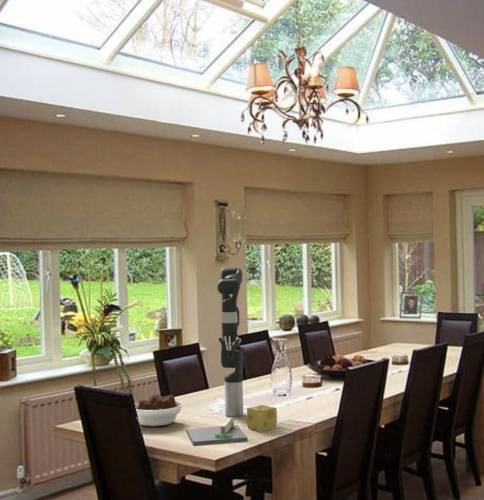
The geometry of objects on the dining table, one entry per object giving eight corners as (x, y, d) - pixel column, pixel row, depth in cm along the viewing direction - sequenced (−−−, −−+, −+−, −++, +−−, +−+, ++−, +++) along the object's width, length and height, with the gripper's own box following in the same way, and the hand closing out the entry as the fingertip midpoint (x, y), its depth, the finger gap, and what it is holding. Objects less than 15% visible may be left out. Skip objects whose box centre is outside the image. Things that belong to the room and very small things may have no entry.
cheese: (260, 432, 329) (259, 410, 329) (246, 428, 338) (245, 407, 338) (277, 428, 335) (277, 407, 335) (263, 424, 344) (262, 404, 344)
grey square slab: (186, 432, 334) (186, 425, 334) (237, 428, 338) (237, 421, 338) (193, 445, 310) (193, 438, 310) (247, 440, 315) (247, 433, 315)
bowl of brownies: (125, 422, 357) (124, 392, 357) (173, 416, 367) (172, 387, 367) (139, 433, 334) (138, 400, 334) (189, 426, 345) (189, 395, 345)
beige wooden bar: (227, 426, 336) (227, 417, 336) (234, 426, 335) (234, 417, 335) (218, 435, 318) (218, 426, 318) (226, 436, 317) (226, 427, 317)
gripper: (213, 321, 341) (214, 358, 340) (235, 322, 332) (236, 360, 332) (224, 320, 346) (225, 356, 346) (245, 321, 338) (246, 358, 338)
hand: (230, 358), depth 339 cm, fingers closed
